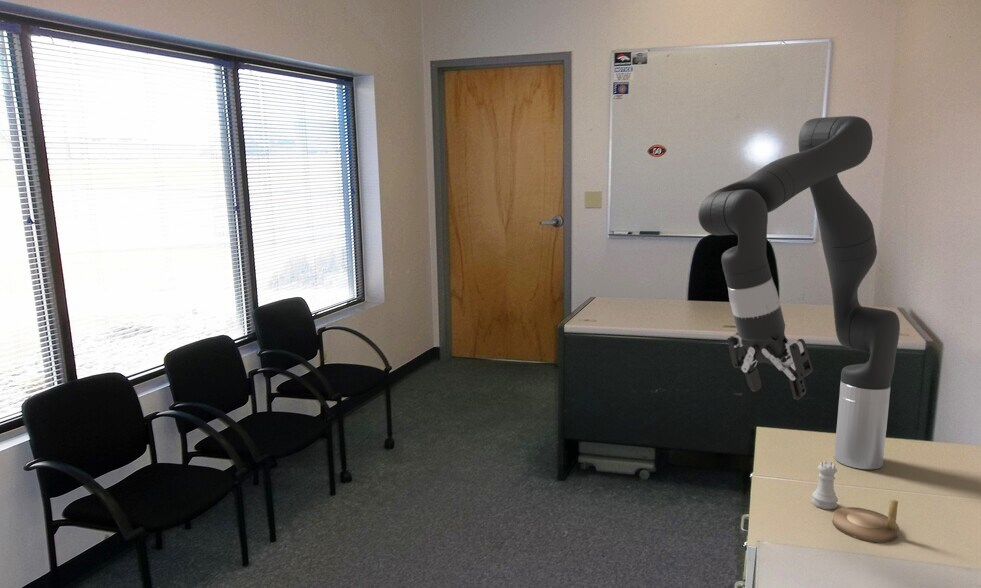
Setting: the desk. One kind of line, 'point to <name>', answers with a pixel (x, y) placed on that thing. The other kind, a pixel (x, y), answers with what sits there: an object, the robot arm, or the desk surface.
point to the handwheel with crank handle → (867, 523)
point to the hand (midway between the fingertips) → (777, 393)
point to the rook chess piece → (825, 487)
